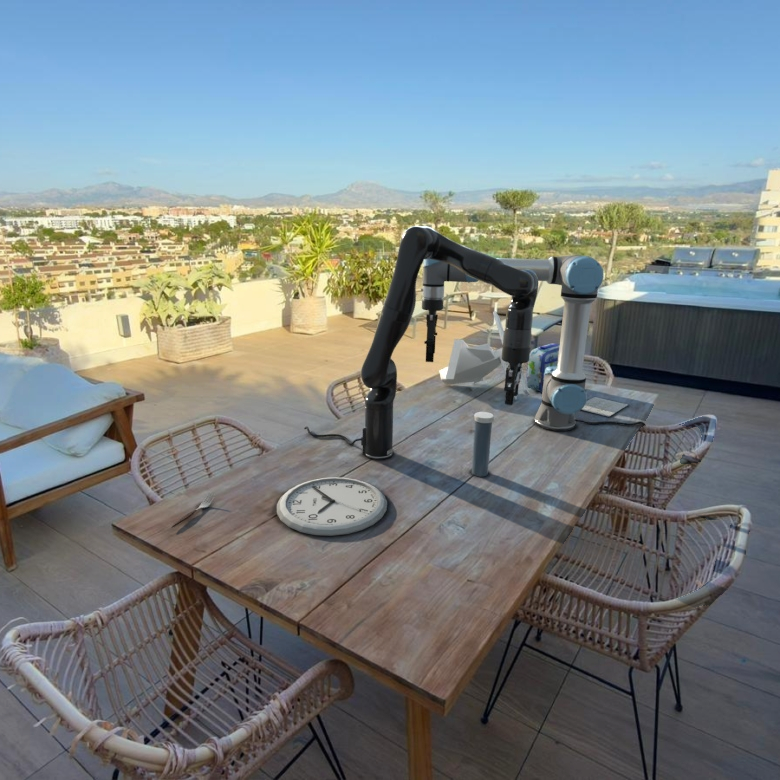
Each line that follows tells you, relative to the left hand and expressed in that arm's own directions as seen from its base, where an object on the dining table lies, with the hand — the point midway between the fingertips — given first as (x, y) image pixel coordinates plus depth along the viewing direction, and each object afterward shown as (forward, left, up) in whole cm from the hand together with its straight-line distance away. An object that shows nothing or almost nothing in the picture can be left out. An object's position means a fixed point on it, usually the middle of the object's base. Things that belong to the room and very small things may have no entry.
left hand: (511, 399), depth 148 cm
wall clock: (-41, -32, -27) cm, 58 cm away
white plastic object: (-27, +87, -27) cm, 95 cm away
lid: (-8, +4, -8) cm, 12 cm away
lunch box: (+1, +108, -27) cm, 111 cm away
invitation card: (+26, +89, -27) cm, 97 cm away
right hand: (-35, +33, +1) cm, 48 cm away
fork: (-72, -50, -27) cm, 92 cm away
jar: (-8, +4, -27) cm, 28 cm away
